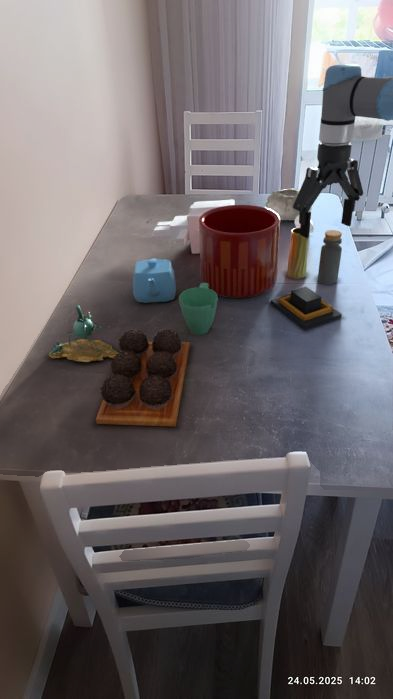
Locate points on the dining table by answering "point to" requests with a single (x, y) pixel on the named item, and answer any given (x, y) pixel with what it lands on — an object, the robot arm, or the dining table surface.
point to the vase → (297, 255)
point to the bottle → (330, 257)
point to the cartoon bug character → (83, 343)
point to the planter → (239, 250)
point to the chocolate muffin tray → (145, 380)
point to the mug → (198, 308)
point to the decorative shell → (283, 203)
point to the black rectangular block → (305, 300)
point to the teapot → (154, 281)
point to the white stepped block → (188, 224)
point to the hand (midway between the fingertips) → (325, 230)
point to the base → (308, 320)
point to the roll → (300, 224)
